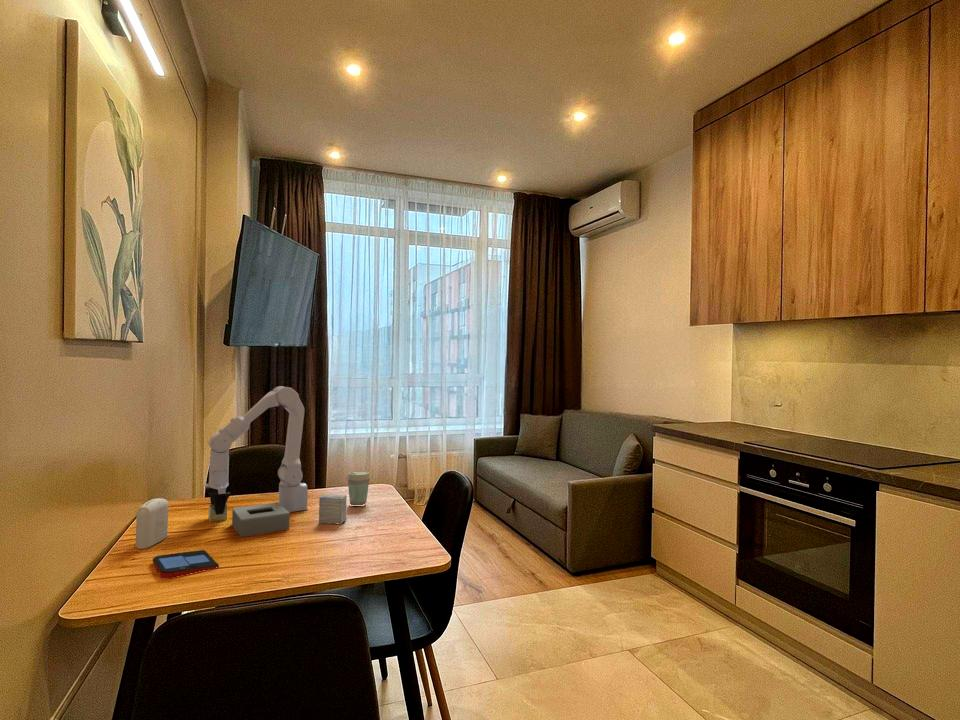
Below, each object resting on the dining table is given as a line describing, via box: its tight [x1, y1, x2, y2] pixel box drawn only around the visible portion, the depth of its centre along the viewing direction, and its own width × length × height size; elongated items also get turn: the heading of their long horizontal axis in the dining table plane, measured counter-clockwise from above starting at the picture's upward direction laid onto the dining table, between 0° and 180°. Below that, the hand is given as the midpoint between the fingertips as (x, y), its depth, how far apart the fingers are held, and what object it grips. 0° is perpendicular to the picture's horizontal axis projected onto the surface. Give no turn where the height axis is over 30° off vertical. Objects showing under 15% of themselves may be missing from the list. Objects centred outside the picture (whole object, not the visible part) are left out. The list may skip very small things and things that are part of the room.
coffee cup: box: [346, 470, 371, 505], centre depth 189 cm, size 9×8×12 cm
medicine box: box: [318, 494, 347, 525], centre depth 168 cm, size 8×4×9 cm, turn 84°
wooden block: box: [207, 503, 228, 523], centre depth 168 cm, size 5×3×5 cm, turn 126°
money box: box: [231, 502, 291, 538], centre depth 162 cm, size 14×14×5 cm
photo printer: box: [135, 497, 169, 550], centre depth 145 cm, size 10×4×12 cm, turn 2°
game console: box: [152, 549, 220, 579], centre depth 130 cm, size 14×13×2 cm
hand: (217, 511), depth 168 cm, fingers open, 7 cm apart
